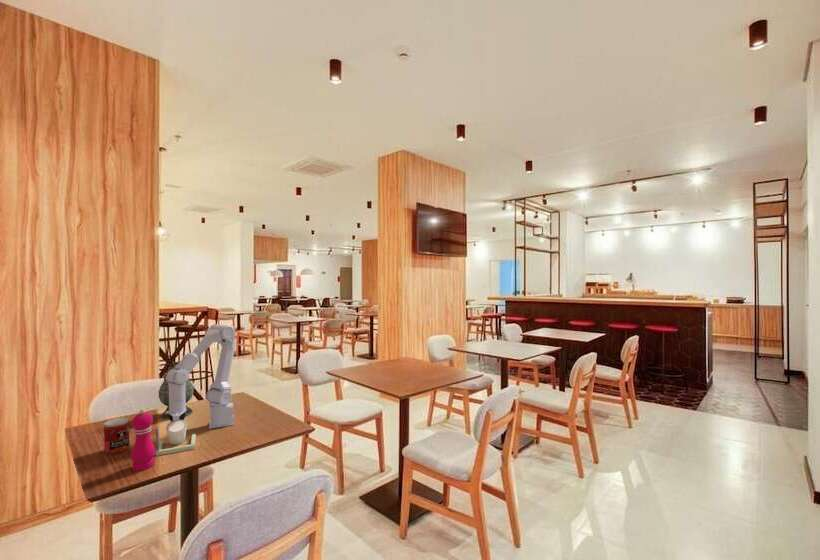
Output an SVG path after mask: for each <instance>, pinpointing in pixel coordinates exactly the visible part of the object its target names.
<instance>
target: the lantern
mask: <svg viewBox="0 0 820 560" xmlns="http://www.w3.org/2000/svg"><path fill="white" fill-rule="evenodd" d="M179 362H180V361H179ZM179 362H178V361H175V362H174V363H172V364H171V365H169V366H168V370H167V371H166V373H165V374H164V375H163V377H162V379H163V381H162V383H161V385H160V387H159V390H158V398H159V401H160V403H162V404H163V405H164V406H166V409H165V410H164V411H163V412H162V413H161V414H160V416H159V418H160V419H161V420H165V421H166V420H168V421H170V419H169V416H170V414H166V411H168V410H169V386H168V382H167V381H166V379H165V377H166V376H167V373H168V372H169V371H170V370H171V369H175V366H176V365H178V364H179ZM194 389H195V388H194V385H193V383H192V381H191V379H190V378H188V380H187V381H186V382H185V396H186V404H188V402H189V401H190V400H191V399H192V397H193V395H194ZM193 412H194V410H193V409H192V408H190V407H189V406H188V405H186V411H185V413H186V416H185V418H186V417H188V415H189V416H191V415H192V414H193ZM190 414H191V415H190Z"/></svg>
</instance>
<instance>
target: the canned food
mask: <svg viewBox="0 0 820 560" xmlns="http://www.w3.org/2000/svg"><path fill="white" fill-rule="evenodd" d="M103 437H104V439H103V440H104V442H103V444H104V452H105V455H116V454H121V453H124V452H126V451H127V450H128V449H130V448H129V447H130V419H129V418H127V417H117V418H112V419H110V420H107V421H105V422H104V424H103Z"/></svg>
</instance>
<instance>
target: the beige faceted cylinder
mask: <svg viewBox="0 0 820 560" xmlns="http://www.w3.org/2000/svg"><path fill="white" fill-rule="evenodd" d="M165 431H166V434H167V437H168V442H169V444H170V445H173V446H175V445H179V444H182V443H183V442H185V440H186V434H187V422H186V421H185V419H184V420H177V421H172V422H171V421H170V422H169V423H168V424H167V425H166V429H165Z"/></svg>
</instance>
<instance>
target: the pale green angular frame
mask: <svg viewBox="0 0 820 560" xmlns="http://www.w3.org/2000/svg"><path fill="white" fill-rule="evenodd" d="M153 435H156V436H155V437H156V441H155V442H156V443H155V444H156V449H155V450H156V453H155V456H156V457H157V456H158V457H159V456H164V455H169V454H175V453H180V452H186V451H190V450H195V447H196V441H197V440H196V439H197V437H196V436H197V435H196V433H194V434H193V433H192V435H191V440H190V444H186V445H181V446H175V447H169V448H168V447H167V448H164V449H163V446H164V439H160V428H159V427H156V428H153V429H152V428H151V431H150V436H153Z"/></svg>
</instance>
